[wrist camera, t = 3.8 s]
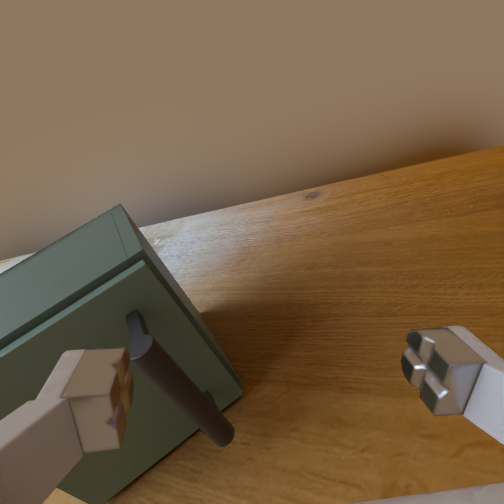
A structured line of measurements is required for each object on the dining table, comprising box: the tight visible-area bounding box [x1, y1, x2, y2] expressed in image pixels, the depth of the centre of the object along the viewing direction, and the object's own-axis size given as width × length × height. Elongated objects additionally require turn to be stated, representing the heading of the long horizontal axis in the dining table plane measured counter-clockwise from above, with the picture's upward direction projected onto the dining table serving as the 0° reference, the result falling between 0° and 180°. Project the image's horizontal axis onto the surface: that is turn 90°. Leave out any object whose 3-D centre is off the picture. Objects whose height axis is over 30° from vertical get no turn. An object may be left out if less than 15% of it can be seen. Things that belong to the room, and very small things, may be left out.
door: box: [0, 259, 243, 504], centre depth 23 cm, size 6×16×17 cm, turn 120°
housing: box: [0, 204, 243, 386], centre depth 32 cm, size 14×16×18 cm
